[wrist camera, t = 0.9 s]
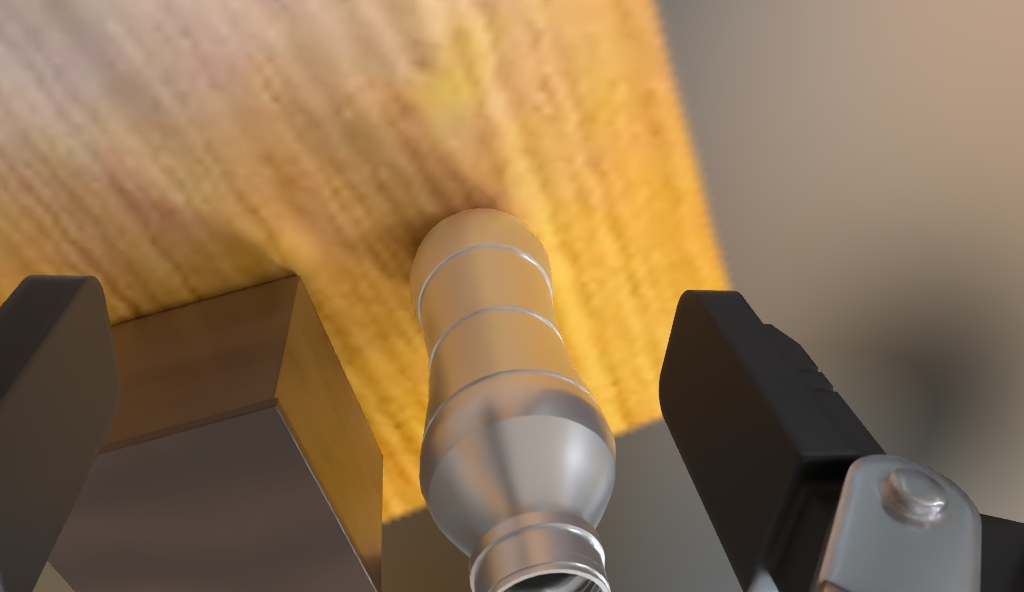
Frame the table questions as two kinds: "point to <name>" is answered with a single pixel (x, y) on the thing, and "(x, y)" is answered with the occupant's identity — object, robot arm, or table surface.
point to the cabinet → (230, 458)
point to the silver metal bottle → (507, 412)
